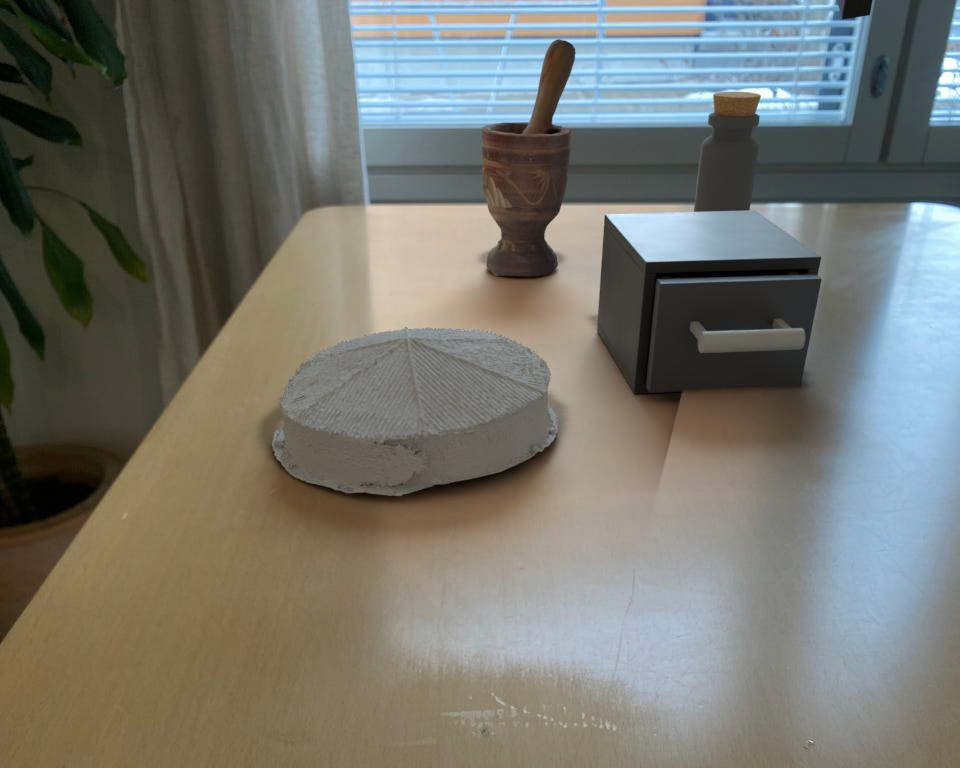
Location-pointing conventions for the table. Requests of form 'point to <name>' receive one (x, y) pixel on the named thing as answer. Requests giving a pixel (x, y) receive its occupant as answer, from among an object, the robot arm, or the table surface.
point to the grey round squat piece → (414, 411)
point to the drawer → (730, 329)
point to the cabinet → (678, 268)
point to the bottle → (729, 154)
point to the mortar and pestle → (528, 174)
